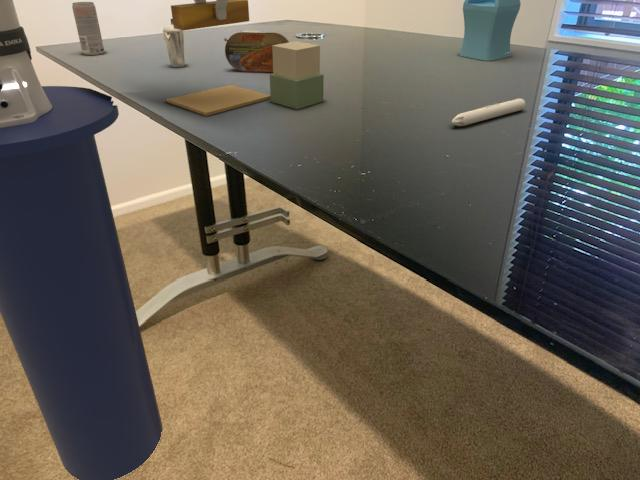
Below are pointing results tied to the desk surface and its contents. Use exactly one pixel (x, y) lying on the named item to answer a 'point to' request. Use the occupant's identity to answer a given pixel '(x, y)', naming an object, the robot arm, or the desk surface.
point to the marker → (488, 112)
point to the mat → (218, 99)
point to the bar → (208, 14)
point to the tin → (252, 50)
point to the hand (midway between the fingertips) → (212, 18)
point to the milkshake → (174, 45)
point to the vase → (488, 28)
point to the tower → (296, 75)
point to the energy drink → (88, 28)
